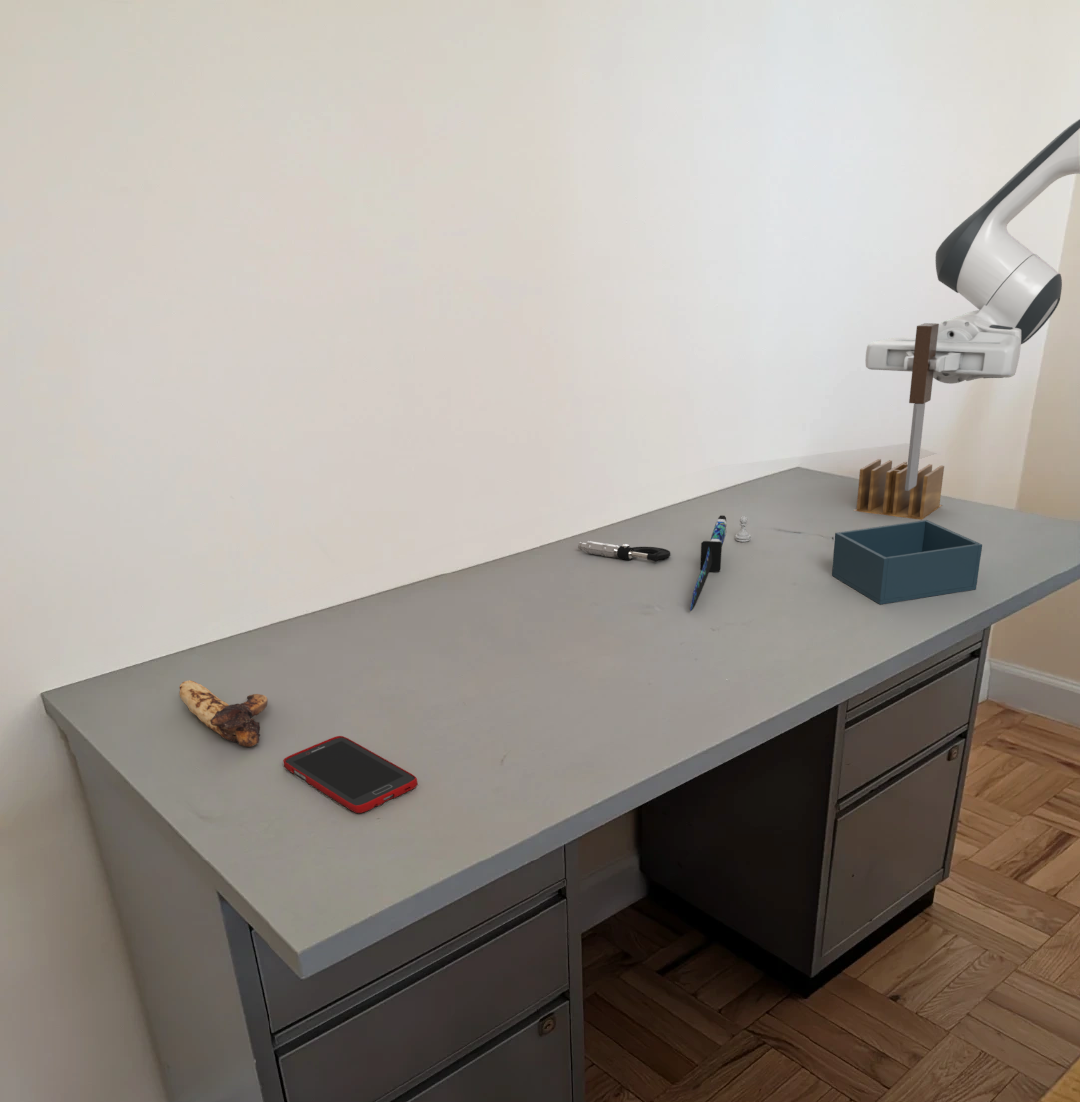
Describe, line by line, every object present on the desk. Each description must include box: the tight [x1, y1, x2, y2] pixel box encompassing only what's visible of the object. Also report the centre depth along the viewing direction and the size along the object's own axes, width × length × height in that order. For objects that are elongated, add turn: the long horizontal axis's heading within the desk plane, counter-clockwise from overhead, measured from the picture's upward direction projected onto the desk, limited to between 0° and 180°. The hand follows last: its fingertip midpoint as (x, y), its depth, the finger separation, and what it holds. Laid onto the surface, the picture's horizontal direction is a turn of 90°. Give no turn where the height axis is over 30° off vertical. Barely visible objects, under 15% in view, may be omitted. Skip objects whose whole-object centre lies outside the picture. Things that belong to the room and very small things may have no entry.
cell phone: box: [282, 735, 418, 814], centre depth 108 cm, size 8×15×1 cm, turn 43°
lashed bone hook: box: [179, 679, 269, 748], centre depth 121 cm, size 9×5×18 cm
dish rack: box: [852, 458, 945, 521], centre depth 179 cm, size 12×10×8 cm
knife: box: [689, 514, 728, 612], centre depth 156 cm, size 31×3×4 cm, turn 159°
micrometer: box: [577, 540, 671, 562], centre depth 169 cm, size 15×7×2 cm, turn 55°
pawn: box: [734, 515, 752, 543], centre depth 172 cm, size 3×3×4 cm
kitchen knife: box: [905, 322, 940, 491], centre depth 143 cm, size 2×3×22 cm, turn 142°
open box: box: [831, 519, 983, 605], centre depth 149 cm, size 15×13×7 cm
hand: (921, 364), depth 140 cm, fingers closed on kitchen knife, 2 cm apart
